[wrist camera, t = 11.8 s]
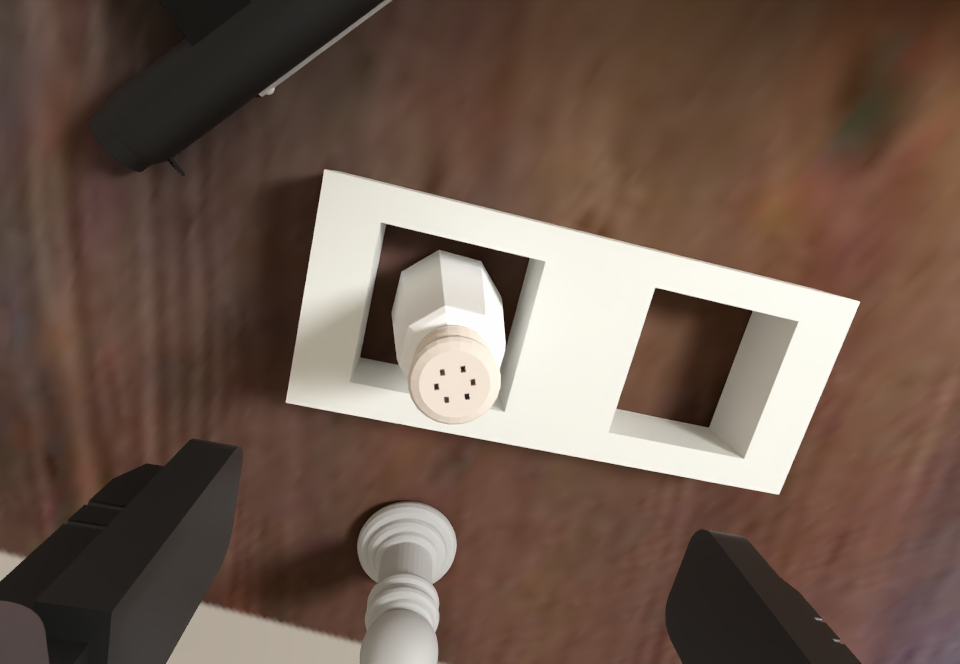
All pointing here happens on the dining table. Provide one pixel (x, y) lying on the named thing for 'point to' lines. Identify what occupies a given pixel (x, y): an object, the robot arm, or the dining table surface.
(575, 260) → the rail
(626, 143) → the dining table surface
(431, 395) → the salt shaker
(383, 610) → the chess piece
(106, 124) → the door handle
